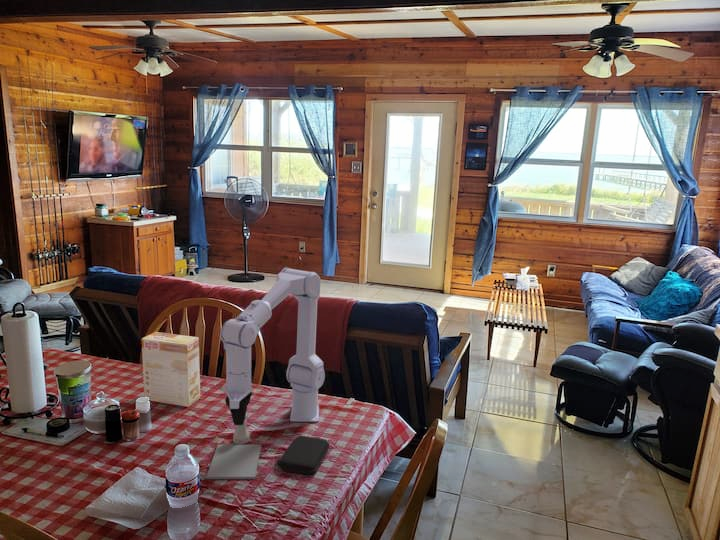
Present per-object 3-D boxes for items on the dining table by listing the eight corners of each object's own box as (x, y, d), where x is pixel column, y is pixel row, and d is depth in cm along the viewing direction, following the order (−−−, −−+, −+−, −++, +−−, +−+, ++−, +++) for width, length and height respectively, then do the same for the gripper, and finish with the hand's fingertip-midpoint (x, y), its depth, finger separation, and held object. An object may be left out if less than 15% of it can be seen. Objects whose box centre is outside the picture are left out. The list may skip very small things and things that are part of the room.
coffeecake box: (201, 397, 165) (199, 336, 161) (188, 407, 159) (186, 344, 154) (157, 390, 169) (155, 330, 165) (143, 400, 162) (140, 338, 158)
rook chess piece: (246, 446, 140) (245, 417, 138) (229, 443, 140) (229, 415, 139) (252, 437, 144) (252, 409, 142) (237, 435, 145) (236, 407, 143)
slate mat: (217, 446, 139) (217, 444, 139) (261, 446, 140) (261, 444, 139) (206, 479, 125) (206, 476, 125) (254, 479, 126) (254, 476, 126)
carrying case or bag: (292, 441, 143) (271, 472, 129) (292, 431, 143) (271, 461, 129) (331, 448, 141) (313, 480, 127) (331, 437, 140) (314, 468, 126)
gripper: (226, 357, 134) (227, 408, 137) (215, 382, 120) (216, 438, 123) (255, 358, 135) (255, 408, 137) (247, 382, 120) (247, 438, 123)
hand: (239, 422), depth 130 cm, fingers closed
